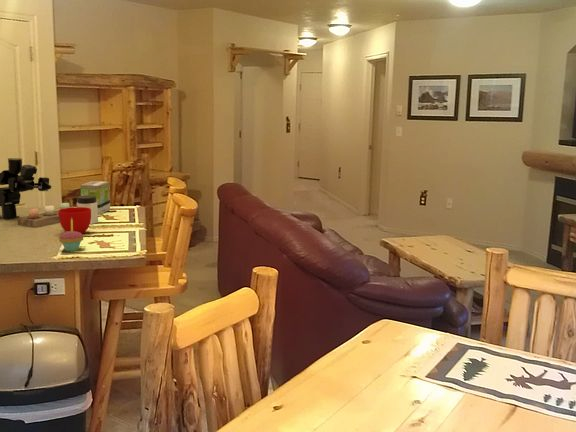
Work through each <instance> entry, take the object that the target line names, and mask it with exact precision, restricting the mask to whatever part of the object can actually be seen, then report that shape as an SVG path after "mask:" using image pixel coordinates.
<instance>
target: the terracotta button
mask: <svg viewBox="0 0 576 432" xmlns="http://www.w3.org/2000/svg"><path fill="white" fill-rule="evenodd" d="M27 211H28V216H29V219H37V218H39V214H40V213H39V208H33V207H32V208H28V210H27Z"/></svg>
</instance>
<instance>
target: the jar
mask: <svg viewBox="0 0 576 432" xmlns="http://www.w3.org/2000/svg"><path fill="white" fill-rule="evenodd" d="M76 200H77V202H76V207H85V208H90V209H91V221H90V225H94V224H98V223H99V215H98V208H97V202H96V196H91V195H86V196H81V195H79V196H77V197H76Z"/></svg>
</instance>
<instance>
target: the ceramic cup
mask: <svg viewBox="0 0 576 432" xmlns="http://www.w3.org/2000/svg"><path fill="white" fill-rule="evenodd" d="M58 210H59V211H58ZM58 210H57V211H58V215H59V220H60V223H59V224H60V226H61V228H62V229H63V230H64V232H66V231H71V218H72V220H73V231H77V232H79V233H81V234H82V235H83V234H85V232H86V231H87V230H88V229H89V227H90V225H91V224H90V221H91V209H90V208H85V207H77V206H76V207H75V206H74V207H70V208H64V209H61V208H60V209H58Z"/></svg>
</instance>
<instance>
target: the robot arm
mask: <svg viewBox="0 0 576 432" xmlns="http://www.w3.org/2000/svg"><path fill="white" fill-rule="evenodd" d="M7 161H8V162H7V164H8V166H7V167H8V169H5V170H4V169H3V170H2V171H1V172H0V186H4V187H0V207H1V216H0V219H3V220H10V219H18V218H20V215H17V208H16V207H17V206H16V205H20V204H21V202H20V201H21V193H23V192H28V191H33V190H34V189H37V190H38V191H39V192H48V191H49V190H51V189H52V185H50V178H49V177H46V176H43V177H42V176H41V177H39V178H38V180H37V182H35V181H34V180H35V176H34V175H36V174H37V173H38V168H37V167H36V166H35V165H32V164H23V158H20V157H19V158H16V157H14V158H12V157H10V158H7ZM6 185H8V186H6ZM5 186H6V187H5Z"/></svg>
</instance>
